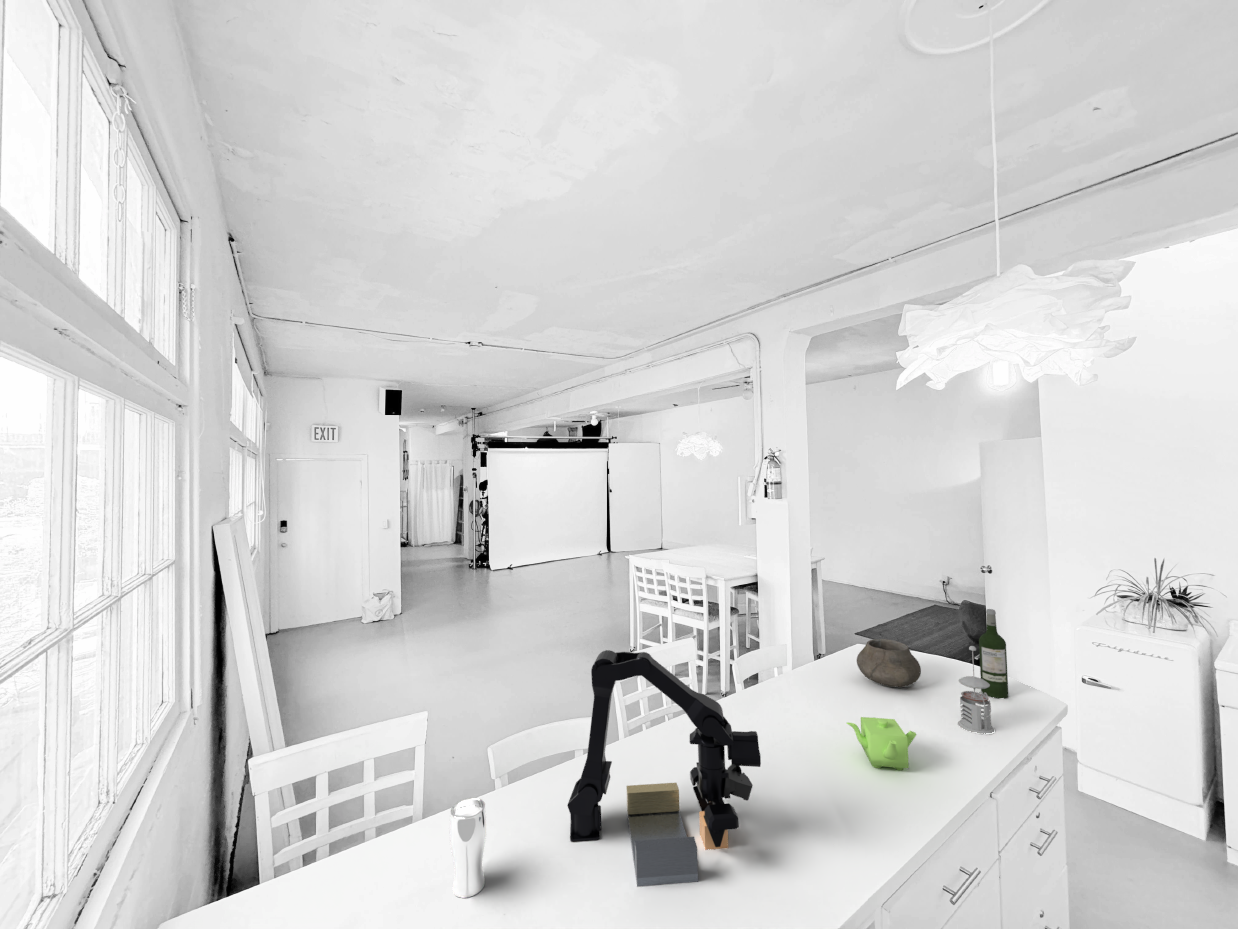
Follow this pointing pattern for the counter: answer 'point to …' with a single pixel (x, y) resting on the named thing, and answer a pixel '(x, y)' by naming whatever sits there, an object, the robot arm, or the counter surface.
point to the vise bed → (657, 832)
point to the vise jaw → (652, 798)
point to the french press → (969, 707)
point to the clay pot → (888, 663)
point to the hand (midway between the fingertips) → (713, 836)
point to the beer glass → (468, 846)
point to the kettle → (884, 742)
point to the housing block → (707, 837)
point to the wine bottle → (993, 659)
